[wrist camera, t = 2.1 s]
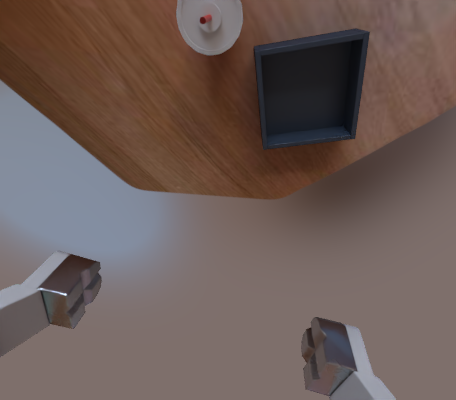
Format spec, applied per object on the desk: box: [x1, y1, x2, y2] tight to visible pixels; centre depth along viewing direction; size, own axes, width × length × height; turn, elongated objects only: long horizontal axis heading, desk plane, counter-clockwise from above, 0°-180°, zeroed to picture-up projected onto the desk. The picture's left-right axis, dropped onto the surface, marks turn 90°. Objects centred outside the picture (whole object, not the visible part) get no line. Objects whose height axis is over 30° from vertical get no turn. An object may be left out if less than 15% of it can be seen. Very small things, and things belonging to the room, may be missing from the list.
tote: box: [254, 29, 370, 150], centre depth 34 cm, size 12×12×4 cm
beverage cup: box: [176, 0, 243, 56], centre depth 25 cm, size 6×6×14 cm
